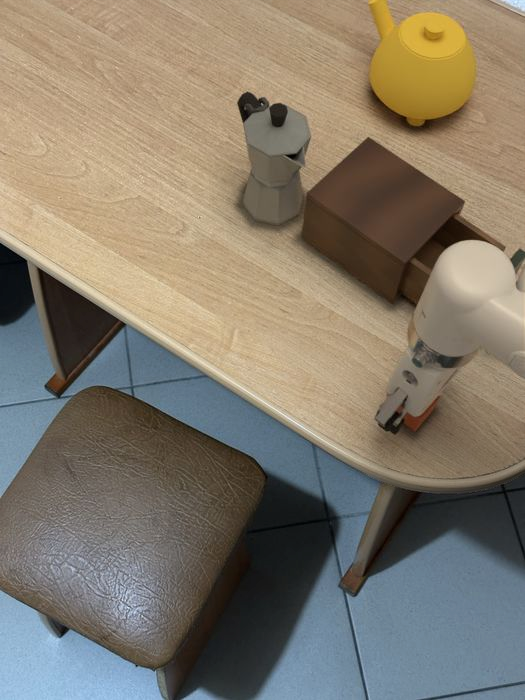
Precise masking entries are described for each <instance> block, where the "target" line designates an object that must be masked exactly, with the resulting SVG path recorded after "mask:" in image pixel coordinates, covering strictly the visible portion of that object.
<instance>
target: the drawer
mask: <svg viewBox="0 0 525 700" xmlns="http://www.w3.org/2000/svg"><path fill="white" fill-rule="evenodd" d="M466 240H479V241H483V242H487V243H490V244H492V245H494V246H496V247H497V248H499V249H500V250H501V251H503V252H504V253H505V250H506V247H507V246H506V245H504V244H503V243H501V242H500V241H498V240H497V239H495V238H494V237H492V236H491V235H489V234H488V233H486V232H485V231H484V230H483V229H481V228H479V227H478V226H476V225H474V224H473V223H472V222H470V221H468V220H467V219H465V218H464V217H463V216H461V214H460V215H458V214H457V213H456V214H455V215H454V216H453V217H452V218H451V219H450V220H449V221H448V222H447V223H446V224H445V225H444V226H443V227H442V228H441V229H440V230H439V231H438V233H437V234H436V235H435V236H434V237H433V238H432V239H431V240H430V241H429V242H428V243H427V244H426V245H425V246H424V247H423V248H422V249H421V250H420V251H419V252H418V253H417V254H416V255H415V256H414V257H413V258H412V259H411V260H410V261H409V263H408V265H407V268H406V271H405V274H404V277H403V280H402V283H401V286H400V289H399V292H401V293H402V294H401V295H403V296H404V297H406V298H408V299H409V300H411V301H412V302H413V303H414V304H416V305H417V304H418V302H419V300H420V298H421V295H422V293H423V291H424V288H425V286H426V284H427V282H428V279H429V277H430V275H431V272H432V270H433V268H434V266H435V263H436V262H437V260H438V258H439V256H440V255H441V254H442V253H443V252H444V251H445V250H446V249H447V248H448V247H450V246H452V245H453V244H455V243H458V242H461V241H466ZM509 259H510V261H511V263H512V265H513V267H514V270H515V274H516V275H517V274H518V272H519V270H520V269H521V267H522V265H523V264H524V261H525V250H524V249H522V248H521V247H519V248H518V249H517V250H516V251H515V252H514V254H513V255H512V256H511V257H510V258H509ZM516 283H517V281H516Z"/></svg>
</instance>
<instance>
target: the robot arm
mask: <svg viewBox="0 0 525 700" xmlns="http://www.w3.org/2000/svg"><path fill="white" fill-rule="evenodd" d="M516 282H517V283H516ZM406 341H407V346H406V348H405V350H403V353H402V354H401V356H400V359H399V360H398V361H397V364H396V366H395V368H394V369H393V371H392V373H391V376H390V377H389V380H388V382H387V384H386V388H385V393H386V396H387V397H386V399H385V400H384V401H383V402H382V403H381V404H380V406H379V408H378V409H377V412H376V413H375V417H374V421H375V422H376V423H377V425H378V426H379V427H380V429H382V430H384V432H386V433H388V432H390V433H391V434H392V435H394V436H397V435H398V434H399V432H400V431H401V429H402V427H403V425H404V421H405V420H404V417H405V415H406V414H407V413H409V414H411V415H412V416H414V417H417V416H420V415H421V414H422V413H423V412H424V411H425V410H426V409H427V408H428V407H429V406H430V405H431V404H432V402H433V401H434V400H435V399H436V398H437V397H438V396H440V394H441V393H442V392H443V391H444V390H445V389H446V388H447V386H448V385H449V384H451V382H452V381H453V380H454V378H456V376H457V375H458V374H459V372H460V371H461V370H462V369H463V368H464V367H466V366H467V365H468V364H470V363H471V362H472V361H473V360H474V358H475V356H476V355H477V353H478V352H479V350H480V348H481V349H483V350H485V351H486V352H487V353H488V354H490V355H491V356H492V357H494V358H495V360H497V361H499V362H500V363H502V364H503V365H504V366H505V367H507V368H508V369H509V370H511V371H512V372H513V373H514V374H516V375H517V376H518V377H520V378H521V379H524V380H525V263H523V266H522V268H521V271H520V273H519V275H518V278H517V274H515V270H514V267H513V265H512V263H511V261H510V258H509V257H508V255H507V254H506V253H505V251H504V252H503V251H501V250H500V249H499V248H497V247H496V246H494V245H492V244H490V243H487V242H483V241H479V240H466V241H461V242H458V243H455V244H453V245H452V246H450V247H448V248H447V249H446V250H445V251H444V252H443V253H442V254H441V255H440V256H439V258H438V260H437V262H436V263H435V266H434V268H433V270H432V272H431V275H430V277H429V279H428V282H427V284H426V286H425V288H424V291H423V293H422V295H421V298H420V300H419V302H418V304H416V307H415V308H414V311H413V313H412V316H411V318H410V320H409V323H408V325H407V327H406ZM407 397H408V398H407ZM406 398H407V399H406ZM400 405H401V406H402V407H403V408H404V409H403V410H402V411H401V413H398V412H397V411H396V410H397V409H398V408H399V407H400Z"/></svg>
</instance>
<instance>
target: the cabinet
mask: <svg viewBox="0 0 525 700" xmlns="http://www.w3.org/2000/svg"><path fill="white" fill-rule="evenodd" d="M304 203H305V204H304V211H303V221H302V229H301V239H302V240H304V241H305V242H307V243H308V244H310V245H311V246H312V247H314V248H315V249H316V250H318V251H319V252H320V253H322V254H323V255H325V256H326V257H328V258H329V259H330V260H332V261H333V262H334V263H336V264H337V265H338V266H340V267H341V268H343V269H344V270H345V271H346V272H348V273H349V274H351V275H352V276H353V277H355V278H356V279H358V280H359V281H360V282H362V283H363V284H364V285H366V287H368V288H370V289H371V290H372V291H374V292H375V293H376V294H378V295H379V296H381V297H382V298H383V299H384V300H386V301H388V302H389V303H390V304H391V305H393V304H394V303H395V302H396V301H397V299H399V298H400V296H401V295H403V294H402V293H401V292H399V289H400V286H401V283H402V280H403V277H404V274H405V271H406V268H407V265H408V263H409V261H410V260H411V259H412V258H413V257H414V256H415V255H416V254H417V253H418V252H419V251H420V250H421V249H422V248H423V247H424V246H425V245H426V244H427V243H428V242H429V241H430V240H431V239H432V238H433V237H434V236H435V235H436V234H437V233H438V231H439V230H440V229H441V228H442V227H443V226H444V225H445V224H446V223H447V222H448V221H449V220H450V219H451V218H452V217H453V216H454V215H455V214H456V213H457V214H458V215H460V216H461V214H462V211H463V209H464V207H465V206H464V205H465V203H466V201H465V199H463V198H461V197H460V196H458V195H457V194H455V193H454V192H452V191H450V190H449V189H447V188H446V187H445V186H443V185H442V184H440V183H438V181H436V180H434V178H432V177H430V176H428V175H427V174H425V173H424V172H422V171H421V170H420V169H418V168H416V167H415V166H413V165H412V164H411V163H409V162H407V161H405V159H403V158H401V157H400V156H398V155H397V154H396V153H394V152H393V151H390V150H389V149H388V148H386V147H385V146H384V145H382V144H381V143H379V142H377V141H376V140H374V139H373V138H372V137H370V136H367V137H366V138H365V139H364V140H362V142H361V143H359V144H358V145H357V146H356V147H355V148H354V149H353V150H352V151H351V152H350V153H349V154H348V155H347V156H346V157H344V158H343V159H342V160H341V161H340V162H339V163H338V164H337V165H336V166H334V167H333V168H332V169H331V170H330V171H329V172H328V173H326V175H325V176H323V177H322V178H321V179H320V180H319V181H318V182H317V183H316V184H314V186H313V187H312V188H311V189H309V190H308V191H307V192H306V197H305V202H304Z"/></svg>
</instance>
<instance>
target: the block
mask: <svg viewBox="0 0 525 700" xmlns="http://www.w3.org/2000/svg"><path fill="white" fill-rule="evenodd" d="M407 398H408V397H407ZM407 398H406V399H407ZM440 399H441V395H439V396H438V397H437V398H436V399H435V400H434V401H433V402H432V404H431V405H430V406H429V407H428V408H427V409H426V410H425V411H424V412H423V413H422V414H421V415H420V416H417V417H414V416H412V415H411V414H409V413H407V414H406V415H405V417H404V420H405V421H404V423H403V425H406V427H408V428H409V429H410V430H411V431H413V432H416V431H417V430H418V428H420V426H421V425H423V423H424V421H426V420H427V418H428V417H430V415H431V414H432V413H433V411H434V410H435V408H436V407H437V405H438V402H439V401H440ZM403 409H404V408H403V407H402V406H401V405H400V407H399V408H398V409H397V410H396V411H397V412H398V413H401V411H402V410H403Z"/></svg>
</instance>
